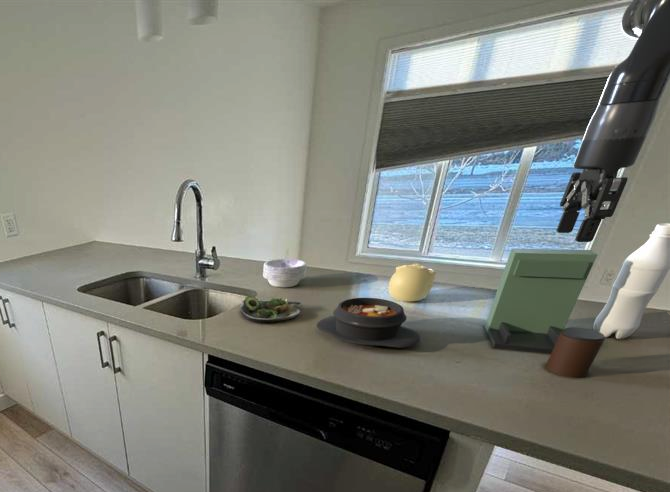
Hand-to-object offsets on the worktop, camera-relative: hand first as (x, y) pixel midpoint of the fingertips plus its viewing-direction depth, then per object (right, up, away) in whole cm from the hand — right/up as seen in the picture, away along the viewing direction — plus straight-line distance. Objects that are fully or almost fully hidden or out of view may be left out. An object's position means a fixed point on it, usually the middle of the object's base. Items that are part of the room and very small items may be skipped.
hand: (572, 236), depth 75 cm
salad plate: (-44, -6, +52) cm, 68 cm away
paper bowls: (-31, +10, +76) cm, 82 cm away
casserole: (-23, -15, +31) cm, 42 cm away
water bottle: (+31, -16, +21) cm, 41 cm away
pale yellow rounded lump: (+1, -1, +53) cm, 53 cm away
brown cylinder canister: (+8, -25, +10) cm, 28 cm away
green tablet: (+11, -17, +23) cm, 30 cm away
